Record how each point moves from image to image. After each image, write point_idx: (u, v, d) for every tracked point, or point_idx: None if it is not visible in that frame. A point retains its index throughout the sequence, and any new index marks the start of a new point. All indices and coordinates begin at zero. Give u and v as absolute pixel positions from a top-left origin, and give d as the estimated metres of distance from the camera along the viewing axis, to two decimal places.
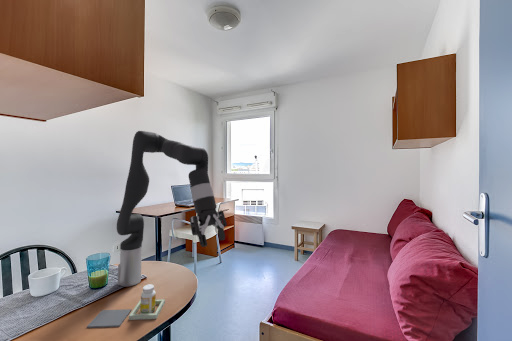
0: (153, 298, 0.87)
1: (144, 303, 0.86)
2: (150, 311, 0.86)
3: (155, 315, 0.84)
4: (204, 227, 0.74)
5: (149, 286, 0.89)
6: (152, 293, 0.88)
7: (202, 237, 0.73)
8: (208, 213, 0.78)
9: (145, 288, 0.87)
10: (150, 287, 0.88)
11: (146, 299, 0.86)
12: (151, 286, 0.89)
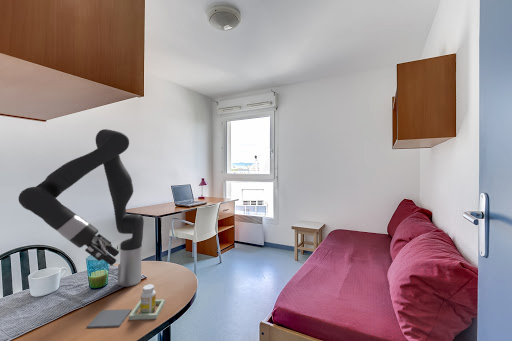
0: (153, 298, 0.87)
1: (144, 303, 0.86)
2: (150, 311, 0.86)
3: (155, 315, 0.84)
4: None
5: (149, 286, 0.89)
6: (152, 293, 0.88)
7: None
8: None
9: (145, 288, 0.87)
10: (150, 287, 0.88)
11: (146, 299, 0.86)
12: (151, 286, 0.89)
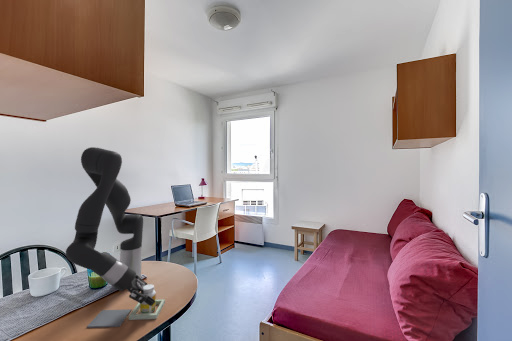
0: (153, 298, 0.87)
1: (144, 303, 0.86)
2: (150, 311, 0.86)
3: (155, 315, 0.84)
4: None
5: (149, 286, 0.89)
6: (152, 293, 0.88)
7: None
8: None
9: (145, 288, 0.87)
10: (150, 287, 0.88)
11: None
12: (151, 286, 0.89)
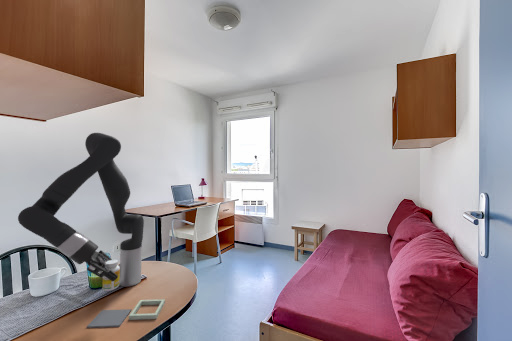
0: (116, 273, 0.82)
1: (105, 279, 0.80)
2: (112, 287, 0.81)
3: (155, 315, 0.84)
4: None
5: (112, 261, 0.83)
6: (115, 268, 0.82)
7: None
8: None
9: (108, 263, 0.82)
10: (113, 262, 0.83)
11: None
12: (115, 261, 0.83)
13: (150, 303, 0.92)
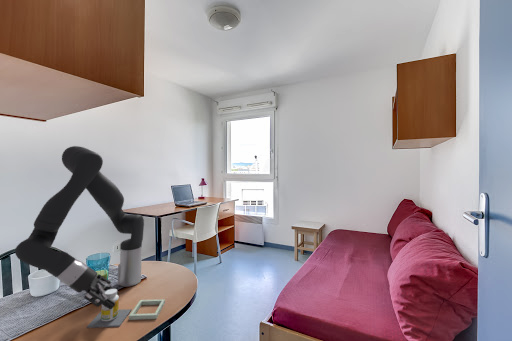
0: (115, 304, 0.82)
1: (104, 309, 0.81)
2: (111, 318, 0.81)
3: (155, 315, 0.84)
4: None
5: (111, 291, 0.84)
6: (114, 298, 0.83)
7: None
8: None
9: (106, 293, 0.82)
10: (112, 292, 0.83)
11: None
12: (114, 291, 0.84)
13: (150, 303, 0.92)
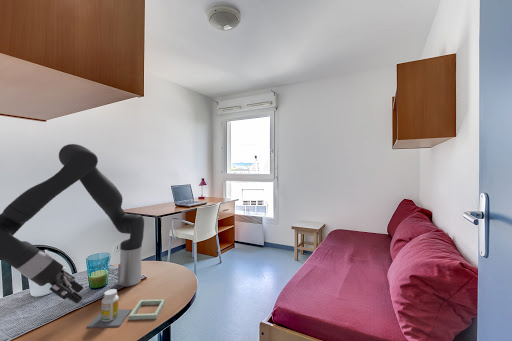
0: (115, 304, 0.82)
1: (104, 310, 0.81)
2: (110, 318, 0.81)
3: (155, 315, 0.84)
4: None
5: (111, 291, 0.83)
6: (114, 299, 0.82)
7: None
8: None
9: (106, 293, 0.82)
10: (112, 292, 0.83)
11: (107, 305, 0.81)
12: (113, 291, 0.83)
13: (150, 303, 0.92)
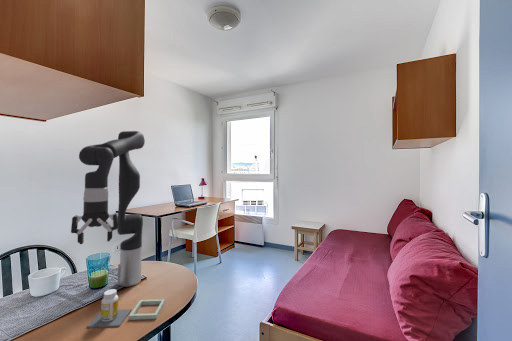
0: (114, 304, 0.82)
1: (104, 310, 0.81)
2: (110, 318, 0.81)
3: (155, 315, 0.84)
4: (82, 228, 0.81)
5: (111, 291, 0.83)
6: (113, 299, 0.82)
7: (78, 236, 0.82)
8: (94, 215, 0.83)
9: (106, 293, 0.82)
10: (112, 292, 0.83)
11: (106, 304, 0.81)
12: (113, 291, 0.83)
13: (150, 303, 0.92)
